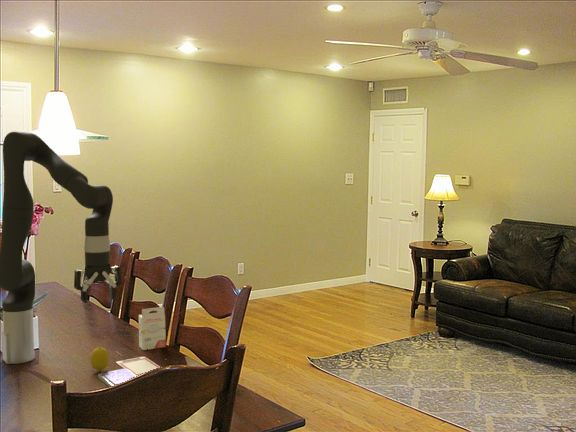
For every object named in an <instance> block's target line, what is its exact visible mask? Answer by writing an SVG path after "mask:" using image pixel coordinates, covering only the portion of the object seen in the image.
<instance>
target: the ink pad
mask: <svg viewBox="0 0 576 432" xmlns="http://www.w3.org/2000/svg"><path fill="white" fill-rule="evenodd" d="M133 377H136V375H135V374H133V373H132V372H131V371H129V370H128V369H127V368H126V369H125V368H124V369H123V368H120V369H116V370H115V369H114V370H109V371H105V372H101V373H98V379H99V380H100V381H102V382H103V383H104V384H105V385H106V386H107V387H109V388H110V387H111V386H114V385H117V384H120V383H122V382H125V381H127V380H129V379H131V378H133Z"/></svg>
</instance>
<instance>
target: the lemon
mask: <svg viewBox="0 0 576 432" xmlns="http://www.w3.org/2000/svg"><path fill="white" fill-rule="evenodd" d="M90 355H91V356H90V364H91V366H92V368H93V369H95V370H96V371H98V372H101V371H103V370H104V369H106V368H107V367H108V364H109V362H110V356H109V353H108V350H107V349H106V348H104V347H102V346H98V347H96V348H95V349H93V350H92V352H91V354H90Z"/></svg>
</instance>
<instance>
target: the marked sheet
mask: <svg viewBox="0 0 576 432" xmlns="http://www.w3.org/2000/svg"><path fill="white" fill-rule="evenodd" d="M115 363H116V364H117V365H118V366H120V368H121V369H124V368H125V369H126V368H127V369H128V370H129V371H131V372H132V373H133V374H135V375H136V376H138V375H140V374H142V373H145V372H148V371H150V370H153V369H156V368H160V367H161V366H160V365H158V364H157V363H155V362H154V361H152V360H151V359H149V358H148V357H146V356H139V357H138V356H137V357H134V358H129V359H124V360H118V361H115Z"/></svg>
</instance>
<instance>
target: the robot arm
mask: <svg viewBox="0 0 576 432" xmlns="http://www.w3.org/2000/svg"><path fill="white" fill-rule="evenodd" d="M30 161H31V162H34V163H36V164H38V165H40V166H42V167H43V168H45V169H46V170H47V171H48V173H49V175H50V177H51V178H52V179H53V180H54V182H55V183H56V184H57V185H59V186H60V187H62V188H63V189H64V190H66V191H67V192H69V193H70V194H71V196H72V197H73V198H74V199H75V200H76V202H77V203H78V204H79V205H81V206H82V207H84V208H86V209H88V210H89V209H91V210H92V212H91V214H90V215H89V216H88V217H86V218H85V221H84V247H83V249H84V266H85V267H84V269H75V270H74V282H73V288H74V290H76V291H80V301H81V302H82V303H84V304H88V291H87V290H88V289H89V288H90V286H91V285H92V284H93V283H94V284H96V283H104V282H106V283H107V284H108V285H109V288H108V290H109V291H108V292H109V294H108V295H109V300H115V298H116V296H117V295H116V294H117V293H116V291H117V290H116V288H117V287H118V286H122V284H123V283H122V282H123V281H122V272H121V271H122V269H121V266H118V265H114V266H111V243H110V242H111V240H110V231H109V230H110V229H109V228H110V227H109V225H110V224H109V220H110V218H111V212H112V207H113V204H114V197H113V193H112V190H111V189H110V188H109V187H108V186H107V185H104V184H99V185H98V184H96V185H92V184H90V183H89V179H88V177H87V175H85V174H84V173H83V172H82V171H80V170H78V169H77V168H75V167H74V166H72V165H71V164H70V163H68V162H66V161H65V160H64V159H63V158H62V157H61V156H59V154H57V153H56V152H55V151H54V150H53V149H52V148H51V147H50V146H49V145H48V144H47V143H46V142H45V141H44V140H43V139H42V138H41V137H40V136H38V135H37V134H36V133H33V132H27V131H26V132H25V131H16V130H15V131H14V130H13V131H10V132H8V133H7V134H6V135H5V137H4V139H3V143H2V163H3V165H2V166H3V200H2V211H1V212H2V213H1V236H0V288H1V289H2V290H3V291H6V292H8V293H7V295H6V297H5V298H4V300H3V301H2V305H1V307H2V308H1V309H2V332H1V347H2V348H1V349H2V351H1V352H2V360H3V361H4V362H5V364H6V365H10V364H11V365H13V364H15V365H17V364H25V363H28V362H30V361H33V360H35V339H34V338H35V335H34V307H33V306H34V305H33V304H34V300H35V297H36V271H35V269H34V266H33V265H32V263H31V262H30V261H29V260H26V259H23V251H24V246H25V243H26V241H27V239H28V236H29V233H30V231H31V229H32V225H33V223H34V222H33V221H34V207H35V206H34V205H35V204H34V198H33V195H32V193H31V191H30V190H29V187H28V184H27V182H26V179H25V173H24V172H25V162H30ZM111 273H113V274H114V280H113V279H112V278H111V277H110V274H111ZM84 275H85V278H84V280H83V282H81V281H82V278H83V276H84ZM81 283H82V284H81Z"/></svg>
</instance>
